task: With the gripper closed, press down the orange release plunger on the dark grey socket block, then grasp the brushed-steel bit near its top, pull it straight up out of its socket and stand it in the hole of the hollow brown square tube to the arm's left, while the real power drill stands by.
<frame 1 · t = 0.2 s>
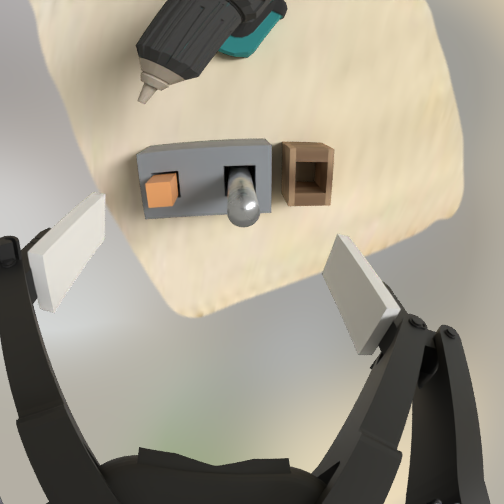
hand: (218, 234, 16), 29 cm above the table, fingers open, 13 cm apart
socket block: (211, 169, 42), on the table
release plunger: (165, 185, 36), point 7 cm above the table, slide at 0.0 cm
steel bit: (238, 168, 43), resting in socket block
hollow brown square tube: (301, 167, 43), on the table
power drill: (235, 29, 32), on the table
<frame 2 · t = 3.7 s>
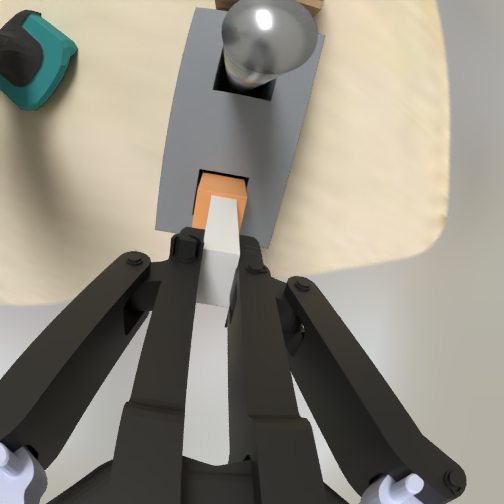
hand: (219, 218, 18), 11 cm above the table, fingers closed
socket block: (233, 117, 25), on the table
release plunger: (219, 195, 21), point 7 cm above the table, slide at -0.3 cm, touching gripper
steel bit: (243, 76, 23), resting in socket block
power drill: (41, 67, 19), on the table
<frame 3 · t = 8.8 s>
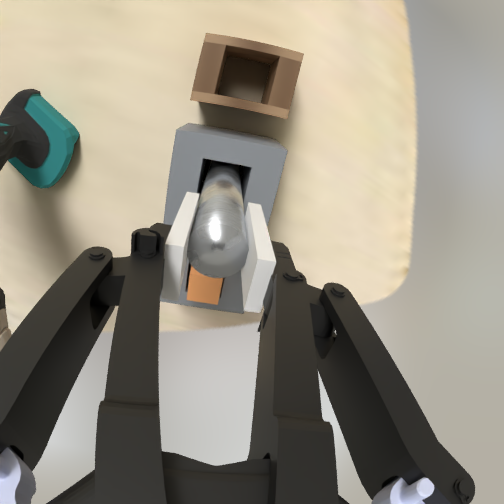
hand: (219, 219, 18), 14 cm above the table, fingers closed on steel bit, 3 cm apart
socket block: (217, 202, 32), on the table
release plunger: (206, 266, 30), point 5 cm above the table, slide at -2.5 cm
steel bit: (224, 166, 30), resting in socket block, touching gripper
hollow brown square tube: (243, 79, 25), on the table
power drill: (48, 146, 26), on the table
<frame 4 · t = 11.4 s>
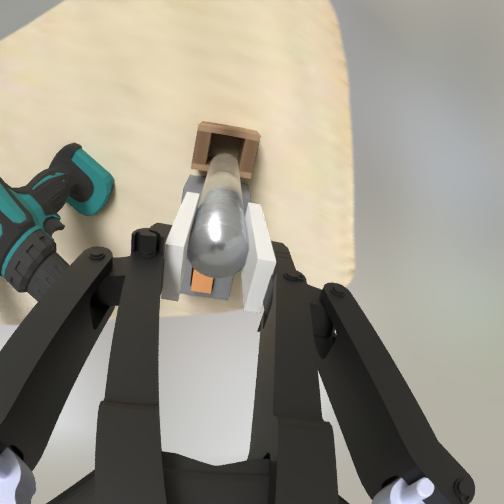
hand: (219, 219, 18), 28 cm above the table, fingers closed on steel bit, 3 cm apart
socket block: (210, 226, 48), on the table
release plunger: (203, 269, 46), point 5 cm above the table, slide at -2.5 cm
steel bit: (224, 166, 30), point 14 cm above the table, touching gripper
hollow brown square tube: (225, 145, 41), on the table
power drill: (89, 185, 42), on the table
when the fingers open (16 cm above the table, at t = 13.8 s): steel bit drops 1 cm, resting in hollow brown square tube.
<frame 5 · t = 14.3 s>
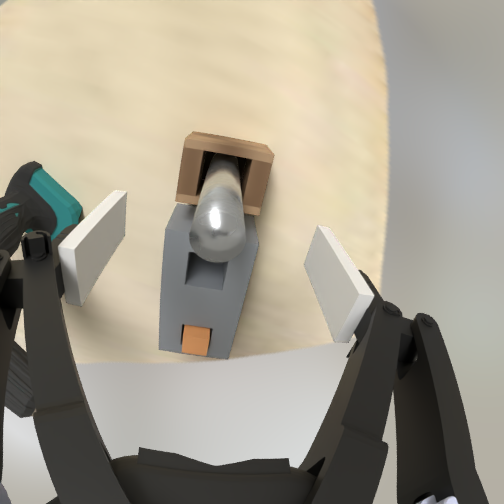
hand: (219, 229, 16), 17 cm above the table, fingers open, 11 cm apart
socket block: (205, 267, 37), on the table
release plunger: (197, 323, 36), point 5 cm above the table, slide at -2.5 cm
steel bit: (224, 163, 31), resting in hollow brown square tube
hollow brown square tube: (224, 163, 31), on the table
power drill: (55, 214, 32), on the table
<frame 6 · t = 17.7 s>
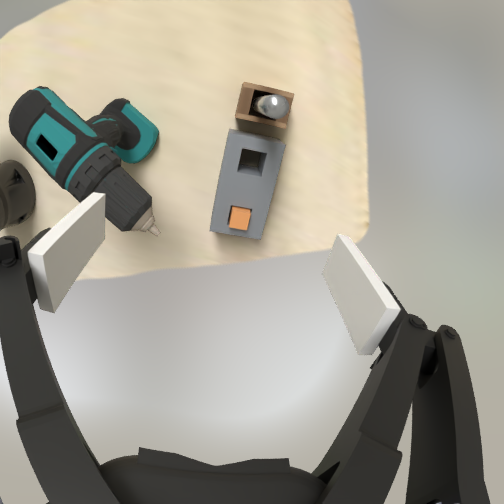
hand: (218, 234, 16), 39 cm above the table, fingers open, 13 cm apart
socket block: (244, 175, 53), on the table
release plunger: (239, 211, 51), point 5 cm above the table, slide at -2.5 cm
steel bit: (261, 104, 47), resting in hollow brown square tube
hollow brown square tube: (261, 104, 47), on the table
power drill: (134, 136, 48), on the table
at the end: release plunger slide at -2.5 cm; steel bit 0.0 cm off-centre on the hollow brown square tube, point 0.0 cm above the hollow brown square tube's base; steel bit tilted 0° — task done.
